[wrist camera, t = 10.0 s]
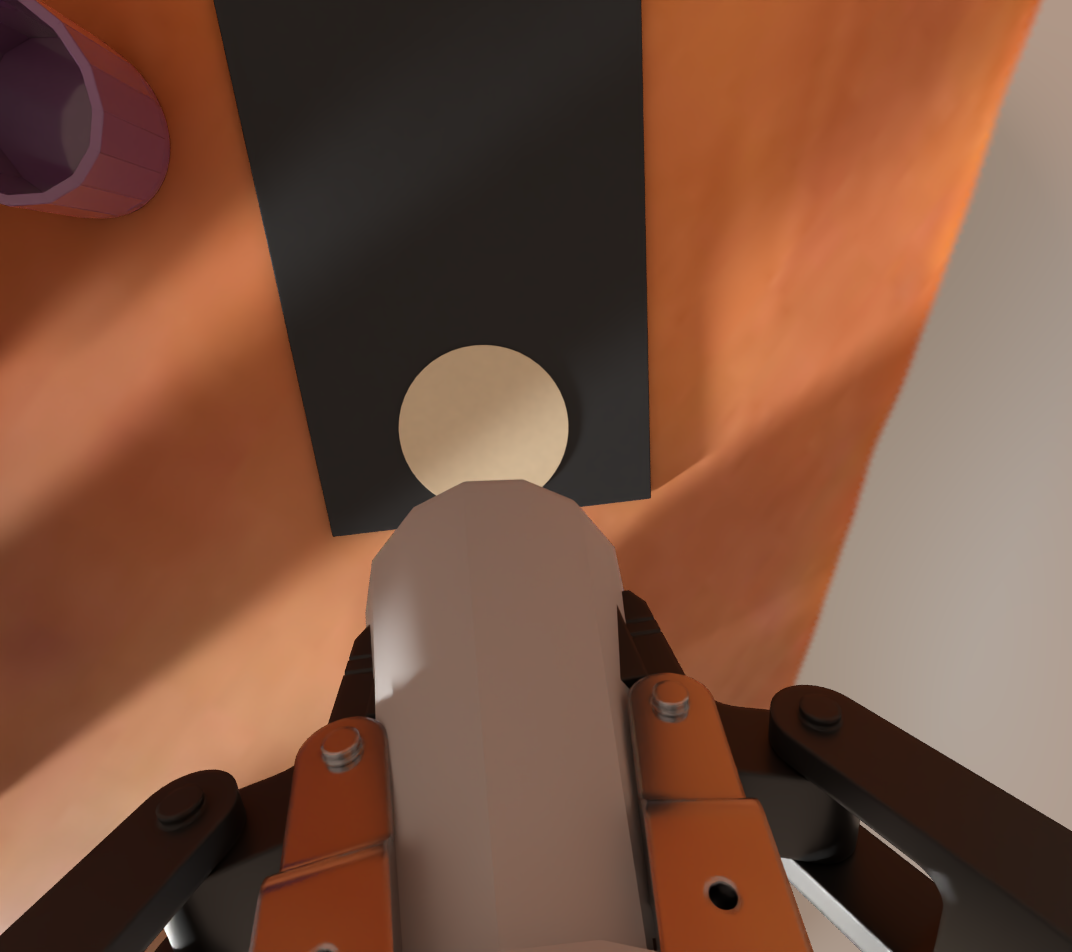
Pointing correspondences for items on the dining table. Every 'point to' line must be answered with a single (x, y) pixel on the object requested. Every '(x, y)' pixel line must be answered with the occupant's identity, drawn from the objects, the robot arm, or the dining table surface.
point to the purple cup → (74, 120)
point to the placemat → (454, 240)
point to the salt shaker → (507, 726)
